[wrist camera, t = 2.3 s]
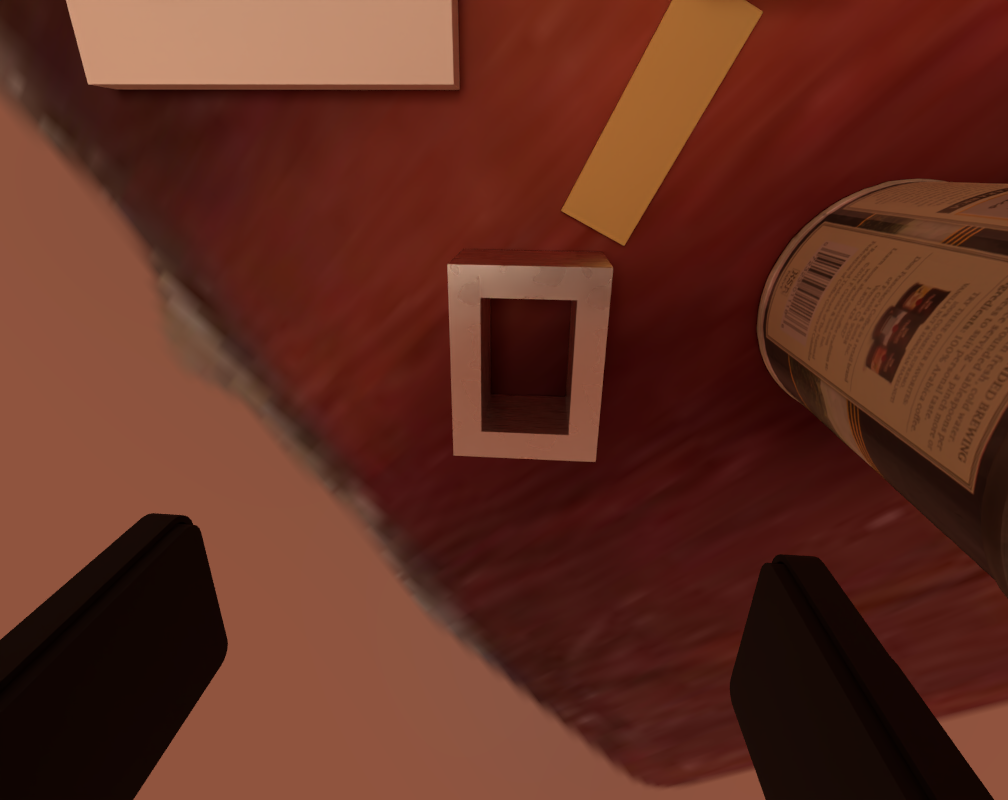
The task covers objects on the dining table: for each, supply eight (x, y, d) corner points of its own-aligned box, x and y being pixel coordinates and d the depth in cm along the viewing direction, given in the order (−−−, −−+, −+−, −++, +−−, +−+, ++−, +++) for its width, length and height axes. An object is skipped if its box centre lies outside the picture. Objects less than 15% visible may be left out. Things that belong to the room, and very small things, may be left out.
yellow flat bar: (688, -31, 19) (691, -36, 18) (759, 14, 19) (763, 11, 19) (560, 210, 22) (561, 210, 22) (622, 244, 23) (624, 246, 22)
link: (602, 251, 23) (613, 268, 19) (588, 420, 26) (595, 461, 22) (463, 248, 23) (447, 264, 19) (466, 415, 26) (453, 455, 23)
